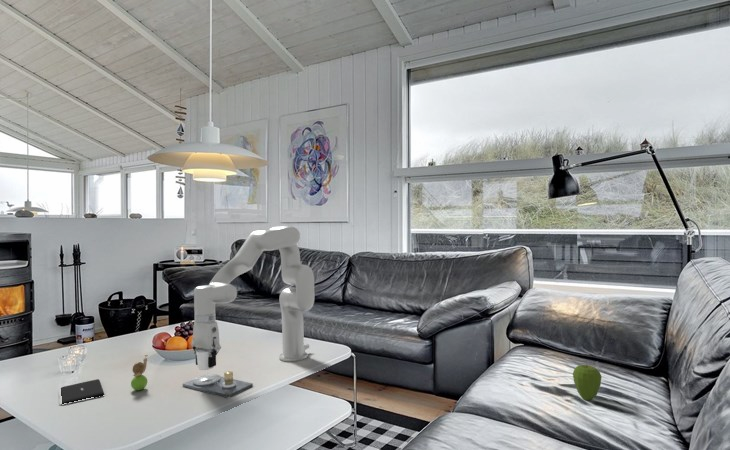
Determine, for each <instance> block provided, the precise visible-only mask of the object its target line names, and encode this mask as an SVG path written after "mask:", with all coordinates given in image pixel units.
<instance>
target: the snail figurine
mask: <svg viewBox="0 0 730 450" xmlns="http://www.w3.org/2000/svg"><path fill="white" fill-rule="evenodd" d="M147 363H148V355H147V354H145V355H144V358H143V362H142V361H137V362H135V363H134V365H133V366H132V373H133V375H132V376H133V378H132V379H131V382H130V387H131V389H133V390H134V391H142V390H143V389H146V387H147V385H148V379H147V377H146V375H143V374H144V373H145V372H146V369H147Z"/></svg>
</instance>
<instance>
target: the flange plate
mask: <svg viewBox="0 0 730 450" xmlns="http://www.w3.org/2000/svg"><path fill="white" fill-rule="evenodd" d="M223 373H224V376H220V375H219V374H217V373H207V374H201V375H197V376H195V377H193V378H192V379H191V380H187V381H186V382H184V383H182V387H184V388H188V389H191V390H195V391H199V392H203V393H208V394H212V395H216V396H220V397H224V398H228V399H229V398H231V397H232V396H235V395H238V394H239V393H241V392H243V391H246V390H248V389H249V388H252V387H253V386H254V383H251V382H247V381H243V380H238V379H234V371H225V372H223Z"/></svg>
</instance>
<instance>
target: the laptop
mask: <svg viewBox="0 0 730 450" xmlns="http://www.w3.org/2000/svg"><path fill="white" fill-rule="evenodd" d="M60 389H61V396H62V404H64V403H69V402H74V401H78V400H82V399H86V398H91V397H94V399H96V398H95V397H98V398H100V397H99V396H103V395H105V391H104V389H103V387H102V383H101V381H100V379H93V380H87V381H83V382H78V383H75V384H74V383H73V384H70V385H65V386H62V387H60ZM103 397H104V396H103Z"/></svg>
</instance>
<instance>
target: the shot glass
mask: <svg viewBox="0 0 730 450" xmlns="http://www.w3.org/2000/svg"><path fill="white" fill-rule="evenodd" d="M211 351H212V352H213V349H212V350H211ZM196 355H197V363H198V365H197V368H198V370H199V371H208V370H211V369H214V367H215V366H213V367H211V368H209V367H208V357H210V356H209V353H208V350H207V349H201V348H200V349H198V350H196V354H195V356H196Z"/></svg>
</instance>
